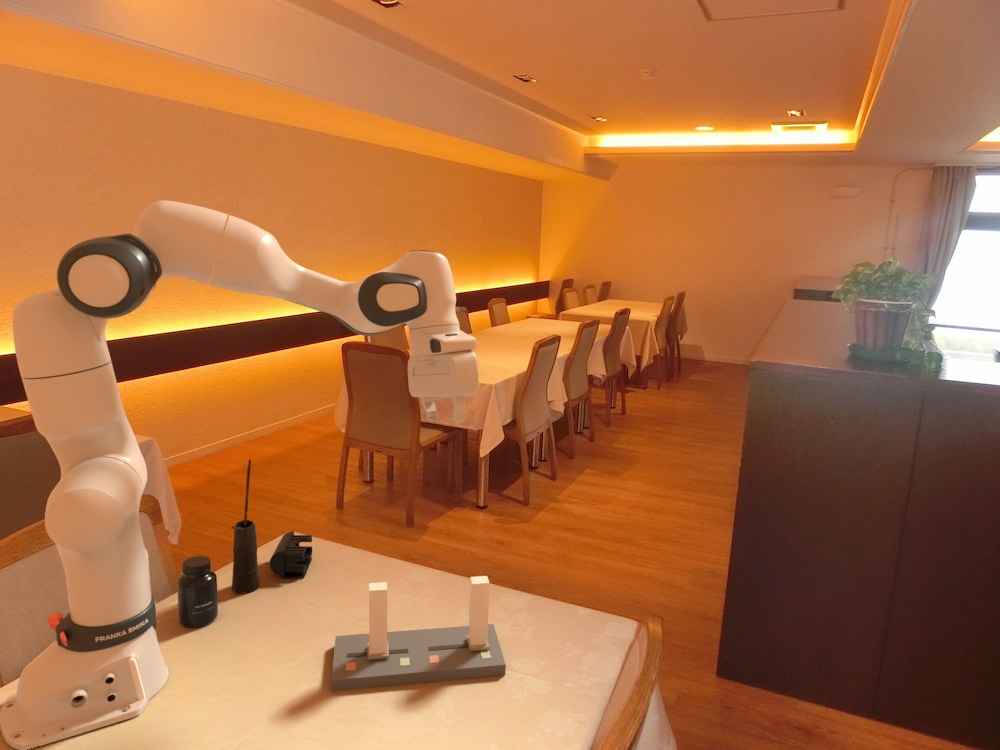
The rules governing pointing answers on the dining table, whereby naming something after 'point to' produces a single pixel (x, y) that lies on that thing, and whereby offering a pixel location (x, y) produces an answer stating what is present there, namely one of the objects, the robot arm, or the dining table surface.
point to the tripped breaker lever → (378, 621)
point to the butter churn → (245, 552)
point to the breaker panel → (414, 658)
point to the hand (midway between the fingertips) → (445, 422)
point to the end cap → (291, 556)
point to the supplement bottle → (197, 593)
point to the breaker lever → (478, 614)
